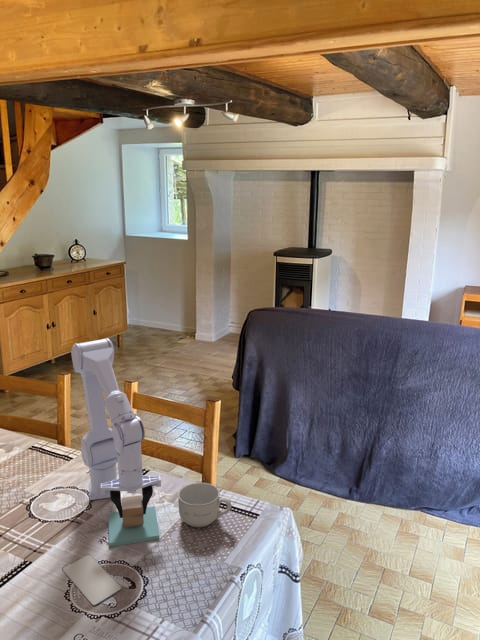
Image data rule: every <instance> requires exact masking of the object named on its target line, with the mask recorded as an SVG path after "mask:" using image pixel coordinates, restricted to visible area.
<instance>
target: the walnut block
mask: <svg viewBox="0 0 480 640" xmlns="http://www.w3.org/2000/svg"><path fill="white" fill-rule="evenodd" d="M121 504H122V514H123V527H130V526H136V525H143V524H144V517H143V503H142V495H134V496H133V495H132V496H125V497H121Z"/></svg>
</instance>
